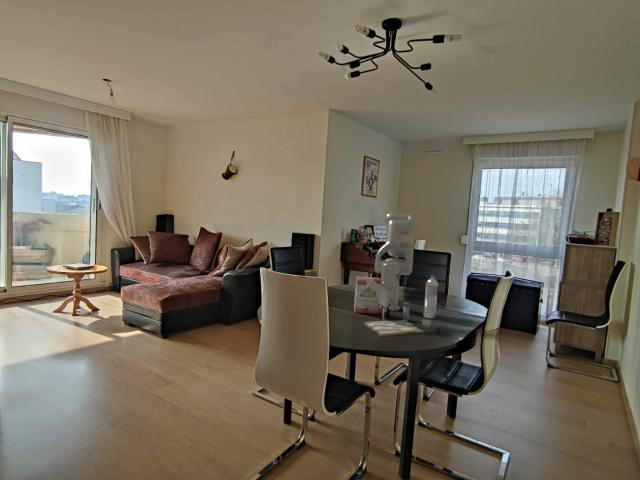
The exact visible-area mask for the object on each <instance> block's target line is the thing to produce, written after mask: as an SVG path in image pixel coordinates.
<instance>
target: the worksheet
mask: <svg viewBox="0 0 640 480" xmlns="http://www.w3.org/2000/svg"><path fill="white" fill-rule="evenodd" d="M363 325H365V326H366V327H367V328H368V329H370V330H371V329H372V330H371V331H372V332H374V331H375V333H376V334H377V335H379V336H380V337H385V336H387V337H388V336H402V335H417V334H418V335H420V334H425V332H424V331H423V330H421V329H419V328H417V325H413V324H412V323H410V322H408V321H405V320H403V319H401V320H388V321H382V320H381V321H380V320H378V321H377V320H376V321H364V322H363Z"/></svg>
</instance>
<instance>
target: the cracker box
mask: <svg viewBox="0 0 640 480" xmlns="http://www.w3.org/2000/svg"><path fill="white" fill-rule="evenodd" d="M380 286H381V278H380V277H369V276H356V279H355V293H354V302H353V303H354V305H353V311H354V313H359V314H376V315H378V314H379V308H380V304H379V303H378V296H379V290H380Z"/></svg>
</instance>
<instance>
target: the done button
mask: <svg viewBox="0 0 640 480" xmlns="http://www.w3.org/2000/svg"><path fill="white" fill-rule="evenodd" d="M421 323H422V326H424V327H431V325H432V320H431V319H427V318H426V319H422V320H421Z"/></svg>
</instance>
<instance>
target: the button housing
mask: <svg viewBox="0 0 640 480" xmlns="http://www.w3.org/2000/svg"><path fill="white" fill-rule="evenodd" d="M416 327H417V328H419V329H421V330H423V331H424V332H425V333H427V334H428V333H436V332H437V327H436V326H434V325H432V324H431V327H424V326H422V322H420V323H416ZM425 333H424V334H425Z"/></svg>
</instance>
